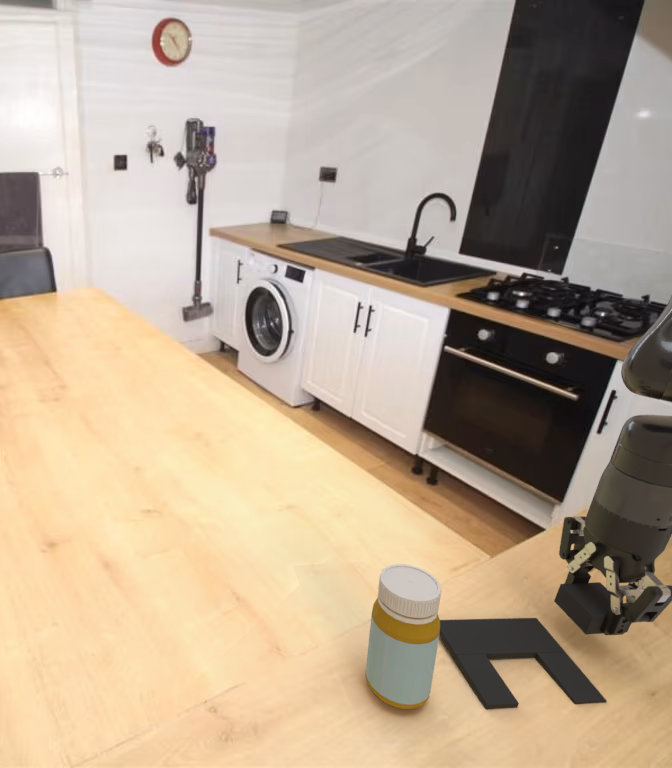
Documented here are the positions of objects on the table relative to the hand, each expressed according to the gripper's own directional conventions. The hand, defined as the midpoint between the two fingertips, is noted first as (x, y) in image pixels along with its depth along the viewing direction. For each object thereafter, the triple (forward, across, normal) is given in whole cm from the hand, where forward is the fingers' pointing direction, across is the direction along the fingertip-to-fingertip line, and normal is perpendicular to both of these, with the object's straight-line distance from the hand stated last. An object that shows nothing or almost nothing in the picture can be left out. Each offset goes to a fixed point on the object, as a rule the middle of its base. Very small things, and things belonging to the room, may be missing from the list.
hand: (590, 613), depth 69 cm
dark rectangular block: (+1, 0, 0) cm, 1 cm away
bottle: (+4, +6, -27) cm, 28 cm away
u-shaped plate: (+4, +3, -11) cm, 13 cm away
